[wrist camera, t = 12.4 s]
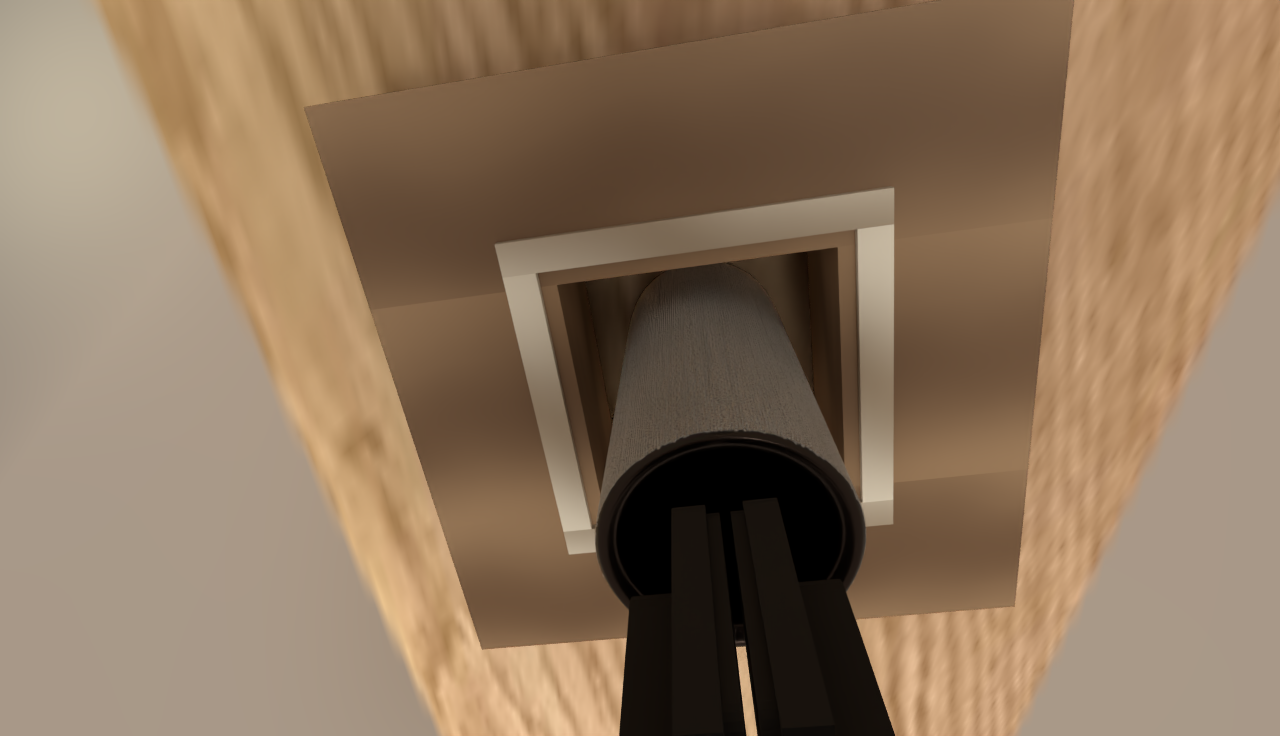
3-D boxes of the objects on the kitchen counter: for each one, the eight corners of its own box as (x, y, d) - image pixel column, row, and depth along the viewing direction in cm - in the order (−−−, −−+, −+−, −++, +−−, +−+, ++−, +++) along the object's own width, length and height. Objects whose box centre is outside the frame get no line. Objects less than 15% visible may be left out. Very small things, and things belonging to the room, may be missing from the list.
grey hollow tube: (622, 265, 20) (575, 441, 10) (776, 251, 19) (874, 421, 10) (637, 401, 21) (610, 656, 12) (778, 391, 21) (863, 646, 12)
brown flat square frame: (377, 100, 18) (298, 107, 14) (985, -2, 17) (1082, -25, 13) (510, 563, 24) (480, 654, 21) (959, 521, 23) (1017, 611, 19)
